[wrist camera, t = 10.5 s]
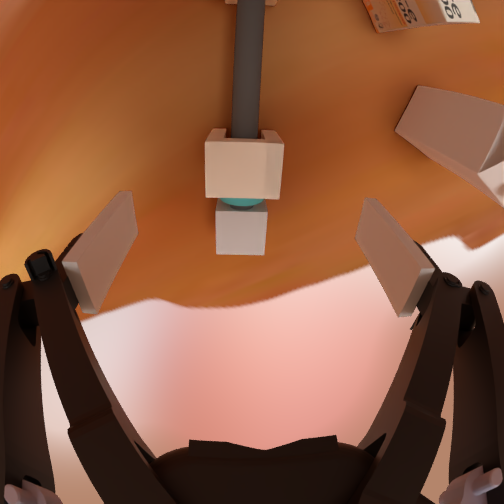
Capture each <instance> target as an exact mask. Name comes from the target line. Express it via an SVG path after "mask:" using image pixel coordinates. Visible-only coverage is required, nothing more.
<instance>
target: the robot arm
mask: <svg viewBox="0 0 504 504" xmlns="http://www.w3.org/2000/svg"><path fill="white" fill-rule="evenodd" d="M137 235H138V229H137V223H136V217H135V211H134V204H133V197H132V191H119V192H118V194H117V195H116V196H115V197H114V198H113V199H112V200H111V201H110V202H109V204H108V205H107V206H106V207H105V208H104V209H103V210H102V211H101V213H100V214H99V215H98V216H97V217H96V219H95V220H94V221H93V222H92V223H91V224H90V226H89V227H88V228H87V229H86V231H85V232H84V233H80V234H79V235H78V236H76V237H75V238H73V239H72V241H71V242H70V243H69V244H68V247H66V248H65V249H64V252H62V253H61V255H60V256H59V257H58V259H57V260H56V261H54V258H53V256H52V253H51V251H50V250H47V249H42V250H39V251H36V252H34V253H32V254H31V255H30V256H29V257H28V258H27V259H26V261H25V264H24V265H25V267H26V269H27V272H28V274H29V276H30V278H31V281H26V282H21V280H20V278H19V276H18V275H17V274H10V275H7V276H5V277H3V278H2V280H1V281H0V504H63V503H62V502H61V500H60V499H59V497H58V496H57V495H56V494H55V484H54V477H53V471H52V465H51V460H50V455H49V450H48V444H47V438H46V432H45V423H44V416H43V405H42V391H41V336H42V341H43V345H44V348H45V353H46V356H47V360H48V363H49V367H50V370H51V373H52V377H53V380H54V383H55V386H56V389H57V392H58V395H59V397H60V400H61V403H62V405H63V408H64V411H65V413H66V416H67V418H68V420H69V423H70V428H69V429H68V435H69V438H70V441H71V443H72V445H73V448H74V450H75V452H76V454H77V456H78V458H79V460H80V462H81V464H82V465H83V468H84V470H85V471H86V473H87V475H88V477H89V479H90V480H91V482H92V484H93V486H94V487H95V489H96V491H97V492H98V494H99V496H100V497H101V499H102V500H103V502H104V504H435V503H433V502H432V501H430V500H429V499H428V498H426V497H425V496H423V495H422V494H421V493H420V492H421V490H422V488H423V486H424V483H425V481H426V479H427V477H428V474H429V472H430V469H431V467H432V464H433V462H434V459H435V457H436V454H437V451H438V448H439V446H440V443H441V440H442V437H443V433H444V430H445V425H446V421H445V419H443V418H441V412H442V408H443V405H444V401H445V398H446V394H447V390H448V385H449V381H450V377H451V372H452V367H453V374H454V413H453V431H452V442H451V452H450V462H449V486H448V487H447V490H446V491H444V492H443V493H442V494H441V495H440V498H439V503H440V504H504V323H503V319H502V316H501V313H500V309H499V306H498V303H497V300H496V297H495V295H494V292H493V290H492V289H491V288H490V286H489V285H488V284H486V283H485V282H482V281H475V282H474V284H473V286H472V288H471V289H470V288H466V287H462V283H461V282H460V280H459V279H458V278H457V277H455V276H454V275H452V274H450V273H446V272H443V273H442V271H441V270H440V269H439V267H438V266H437V265H436V263H435V262H434V261H433V260H432V258H430V256H429V255H428V253H426V251H425V250H424V248H423V247H422V246H421V245H420V244H418V243H417V242H416V241H414V240H412V239H411V237H410V236H409V235H408V234H407V233H406V231H405V230H404V229H403V228H402V227H401V226H400V225H399V223H398V222H397V221H396V220H395V219H394V218H393V217H392V215H391V214H390V213H389V212H388V211H387V210H386V209H385V208H384V207H383V206H382V204H381V203H380V202H379V201H378V200H377V199H374V198H365V199H364V203H363V208H362V212H361V216H360V220H359V224H358V228H357V232H356V236H355V240H356V241H357V243H358V245H359V246H360V248H361V250H362V251H363V253H364V255H365V257H366V258H367V260H368V262H369V264H370V265H371V267H372V269H373V271H374V272H375V274H376V276H377V278H378V280H379V282H380V283H381V285H382V287H383V289H384V291H385V293H386V294H387V297H388V298H389V300H390V302H391V304H392V306H393V308H394V310H395V312H396V314H397V316H398V317H407V316H411V315H412V313H413V312H414V310H415V308H416V306H417V308H418V310H419V311H420V313H419V315H418V316H417V318H416V320H415V322H414V323H413V325H412V327H411V328H410V329H411V330H412V329H413V330H412V333H411V336H410V339H409V342H408V345H407V347H406V350H405V353H404V355H403V358H402V360H401V363H400V365H399V368H398V371H397V373H396V375H395V377H394V380H393V382H392V384H391V387H390V389H389V391H388V393H387V395H386V398H385V400H384V402H383V404H382V406H381V408H380V410H379V412H378V414H377V416H376V418H375V420H374V422H373V424H372V425H371V427H370V429H369V431H368V433H367V434H366V436H365V437H364V438H363V440H362V441H361V442H360V443H359V445H358V446H357V447H355V446H353V445H349V444H345V443H339V442H337V437H336V435H333V436H326V437H318V438H308V439H301V440H298V441H295V442H292V443H289V444H286V445H282V446H279V447H276V448H272V449H269V450H260V449H255V448H250V447H245V446H241V445H237V444H232V443H229V442H218V441H199V440H189V447H184V448H180V449H176V450H173V451H170V452H168V453H166V454H164V455H162V456H160V457H159V458H156V457H155V456H154V454H153V453H152V452H151V450H150V449H149V448H148V447H147V445H146V444H145V443H144V441H143V440H142V439H141V437H140V436H139V434H138V433H137V431H136V430H135V428H134V427H133V425H132V423H131V422H130V420H129V419H128V417H127V415H126V414H125V412H124V410H123V409H122V407H121V405H120V403H119V402H118V400H117V398H116V396H115V395H114V393H113V391H112V389H111V387H110V385H109V383H108V382H107V380H106V378H105V376H104V374H103V372H102V370H101V368H100V366H99V363H98V361H97V359H96V358H95V355H94V353H93V351H92V348H91V346H90V344H89V342H88V339H87V337H86V334H85V332H84V330H83V327H82V325H81V322H80V320H79V317H78V314H77V312H76V310H75V309H76V307H77V305H78V303H79V305H80V307H81V309H82V312H83V313H90V314H98V312H99V309H100V307H101V305H102V303H103V301H104V299H105V296H106V294H107V292H108V290H109V288H110V286H111V284H112V282H113V280H114V278H115V276H116V274H117V272H118V270H119V268H120V266H121V264H122V262H123V261H124V259H125V257H126V255H127V253H128V251H129V249H130V248H131V246H132V244H133V242H134V240H135V238H136V237H137ZM474 327H475V328H474Z"/></svg>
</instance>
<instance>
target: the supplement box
mask: <svg viewBox="0 0 504 504" xmlns="http://www.w3.org/2000/svg"><path fill="white" fill-rule="evenodd" d="M362 1H363V3H364V5H365V7H366V9H367V11H368V13H369V15H370V18H371V20H372V23H373V25H374V28H375V30H376V32H377V33H382V32H388V31H395V30H402V29H410V28H416V27H424V26H433V25H444V24H461V23H480V21H479V18H478V15H477V13H476V11H475V8H474V5H473V3H472V1H471V0H362Z"/></svg>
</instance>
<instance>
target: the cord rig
mask: <svg viewBox="0 0 504 504" xmlns="http://www.w3.org/2000/svg"><path fill="white" fill-rule="evenodd" d="M277 1H278V0H225V3H226V4H237V15H236V32H235V50H234V71H233V94H232V122H231V138H243V139H257V135H258V118H259V100H260V83H261V65H262V48H263V31H264V13H265V5H269V6H275V5H276V3H277ZM267 215H268V211H267V206H266V201H265V199H254V198H218V200H217V206H216V254H232V255H264V250H265V239H266V227H267Z"/></svg>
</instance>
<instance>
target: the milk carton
mask: <svg viewBox="0 0 504 504" xmlns="http://www.w3.org/2000/svg"><path fill="white" fill-rule="evenodd" d="M395 132H396V133H398V134H399V135H400V136H402V137H403V138H404V139H406V140H407V141H408V142H410V143H411V144H412V145H414V146H415V147H416V148H417V149H419V150H420V151H421V152H422V153H424V154H425V155H426V156H427V157H429V158H430V159H432V160H433V161H435V162H437V163H438V164H440V165H442V166H443V167H445V168H447V169H448V170H450V171H452V172H453V173H455V174H456V175H458V176H459V177H461V178H462V179H464V180H465V181H467V182H468V183H470V184H471V185H473V186H474V187H476V188H477V189H479V190H480V191H481V192H483V193H484V194H486V195H487V196H488V197H490V198H491V199H492V200H494V201H495V202H496V203H498V204H499V205H500V206H502V207H503V208H504V105H501V104H498V103H495V102H492V101H488V100H485V99H481V98H478V97H474V96H470V95H466V94H461V93H457V92H452V91H448V90H443V89H437V88H432V87H426V86H419V85H418V86H417V88H416V90H415V92H414V94H413V96H412V98H411V100H410V102H409V104H408V106H407V108H406V110H405V112H404V114H403V116H402V117H401V119H400V121H399V123H398V125H397V127H396V129H395Z"/></svg>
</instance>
